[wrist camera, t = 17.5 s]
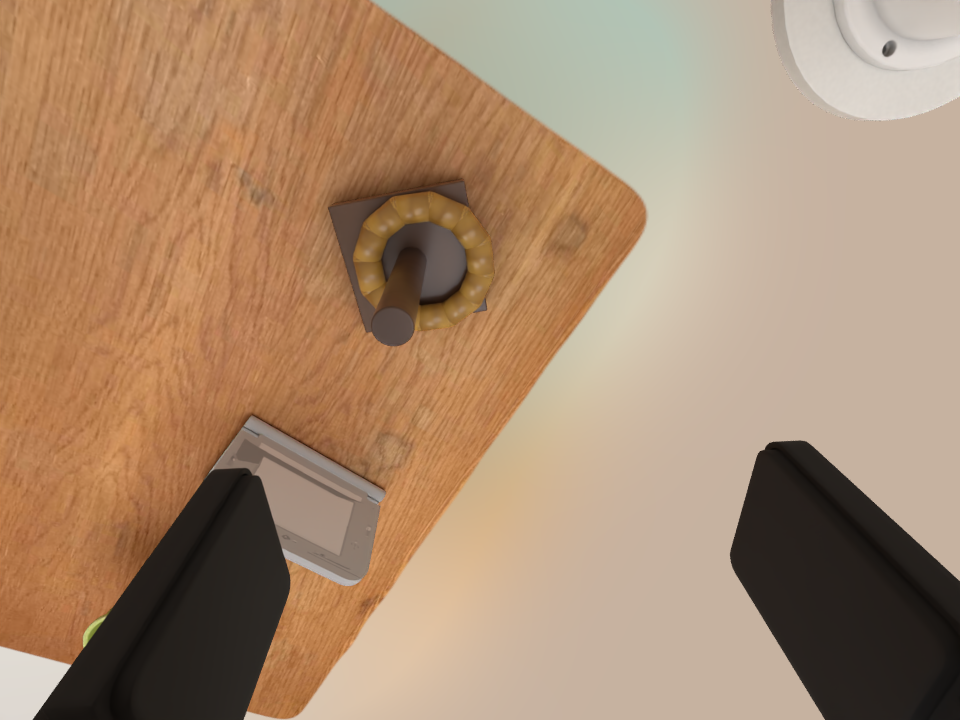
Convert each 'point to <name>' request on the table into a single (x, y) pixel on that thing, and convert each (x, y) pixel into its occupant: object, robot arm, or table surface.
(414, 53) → the table surface
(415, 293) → the stand
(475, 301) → the ring
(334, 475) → the handheld gaming console
